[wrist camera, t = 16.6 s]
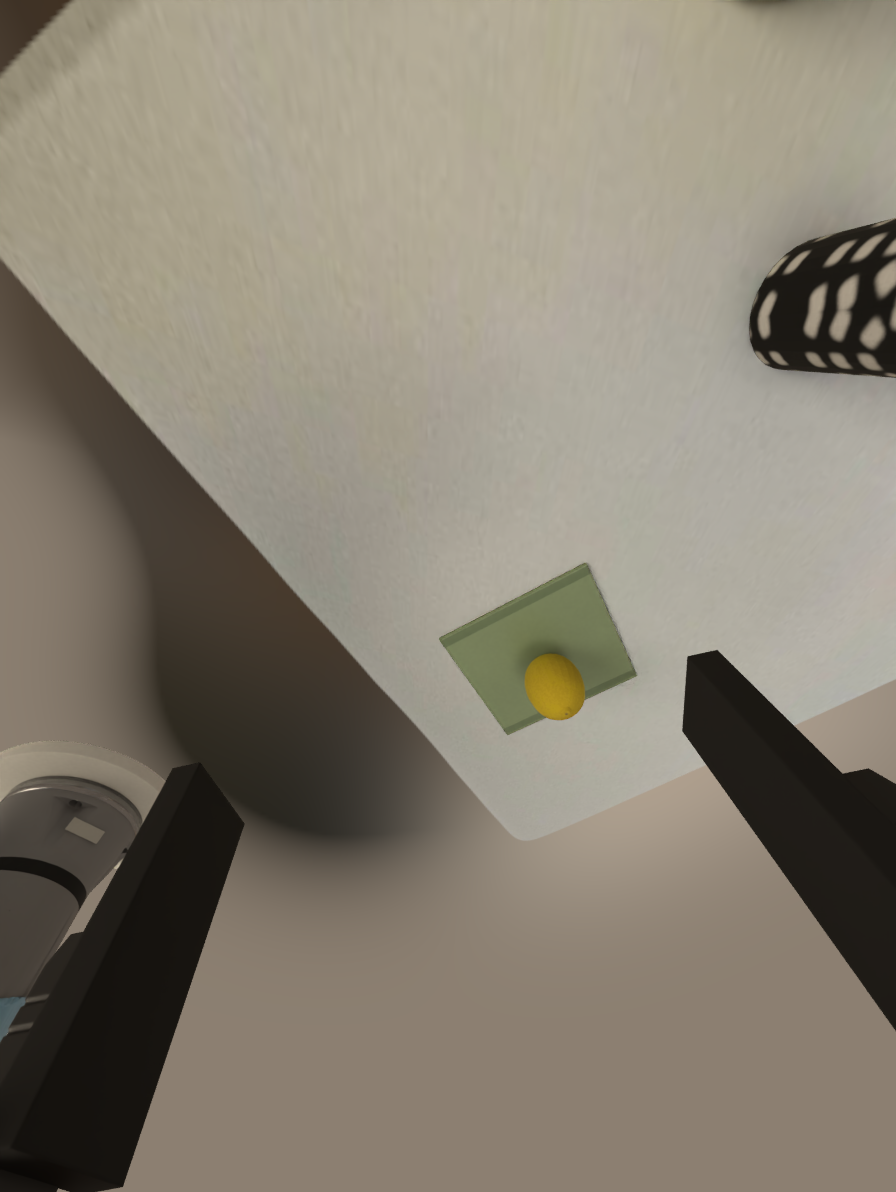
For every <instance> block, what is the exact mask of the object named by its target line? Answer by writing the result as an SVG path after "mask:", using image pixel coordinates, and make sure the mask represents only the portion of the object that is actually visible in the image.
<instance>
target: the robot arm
mask: <svg viewBox="0 0 896 1192" xmlns="http://www.w3.org/2000/svg"><path fill="white" fill-rule="evenodd" d="M682 731H683V733H684V734H685V735H686V737H687V738H688V740H689V741H690V742H691V744H692V745H693V747H694V748H695V749H696V751H697V752H698V754H699V755H700V756H701V758H702V759H703V761H704V762H705V764H706V765H707V766H708V768H709V769H710V771H711V772H712V773H713V775H714V776H715V777H716V779H717V780H718V782H719V783H720V784H721V786H722V787H723V789H724V790H725V792H726V793H727V794H728V796H729V797H730V799H731V800H732V801H733V803H734V804H735V806H736V807H737V808H738V809H739V811H740V813H741V814H742V816H743V817H744V818H745V820H746V821H747V823H748V824H749V825H750V827H751V828H752V830H753V831H754V832H755V834H756V835H757V836H758V838H759V839H760V841H761V842H762V844H763V845H764V846H765V848H766V849H767V851H768V852H769V853H770V855H771V856H772V858H773V859H774V860H775V862H776V863H777V864H778V866H779V867H780V869H781V870H782V872H783V873H784V875H785V876H786V877H787V879H788V880H789V882H790V883H791V884H792V886H793V887H794V888H795V890H796V891H797V893H798V894H799V896H800V897H801V898H802V900H803V901H804V903H805V904H806V905H807V907H808V908H809V910H810V911H811V912H812V914H813V915H814V917H815V918H816V919H817V921H818V922H819V924H820V925H821V927H822V928H823V929H824V931H825V932H826V933H827V935H828V936H829V938H830V939H831V941H832V942H833V943H834V944H835V946H836V948H837V949H838V950H839V952H840V953H841V955H842V956H843V957H844V959H845V960H846V962H847V963H848V964H849V966H850V967H851V969H852V970H853V971H854V973H855V974H856V975H857V977H858V978H859V980H860V981H861V983H862V984H863V986H864V987H865V988H866V990H867V991H868V992H869V994H870V995H871V997H872V998H873V999H874V1001H875V1002H876V1004H877V1005H878V1007H879V1008H880V1009H881V1011H882V1012H883V1014H884V1015H885V1016H886V1018H887V1019H888V1020H889V1022H890V1023H891V1025H892V1026H893V1028H894V1029H895V1030H896V784H895V783H893V782H891V781H889V780H888V779H886V778H884V777H883V776H881V775H879V774H877V773H876V772H874V771H872V770H870V769H864V770H859V771H854V772H849V773H844V774H842V773H841V772H840V771H839V770H838V769H837V768H836V767H835V766H834V765H833V764H832V763H831V762H830V761H829V760H828V759H827V758H826V757H825V756H824V755H823V754H822V753H821V752H820V751H819V750H818V749H817V748H816V747H815V746H814V745H813V744H812V743H811V742H810V741H809V740H808V739H807V738H806V737H805V736H804V735H803V734H802V733H801V732H800V731H799V730H797V728H796V727H795V726H794V725H793V724H792V723H791V722H790V721H789V720H788V719H787V718H786V717H785V716H784V715H783V714H781V713H780V712H779V711H778V710H777V709H776V708H775V707H774V706H773V705H772V704H771V703H770V702H769V701H768V700H767V699H766V698H765V697H764V696H763V695H762V694H761V693H760V692H759V691H758V690H757V689H756V688H755V687H754V686H753V685H752V684H751V683H750V682H749V681H748V680H747V679H746V678H745V677H744V676H743V675H742V674H741V673H740V672H739V671H738V670H737V669H736V668H735V667H734V666H733V665H732V664H731V663H730V662H729V661H728V660H727V659H726V658H725V657H724V656H723V655H722V654H721V653H720V652H719V651H718V650H715V651H710V652H706V653H701V654H696V655H692V656H688V658H687V672H686V686H685V700H684V714H683V728H682ZM243 827H244V822H243V821H242V820H241V818H240V817H239V815H238V814H237V813H236V811H235V810H234V808H233V807H232V806H231V804H230V803H229V802H228V800H227V799H226V797H225V796H224V795H223V793H222V792H221V790H220V789H219V788H218V786H217V785H216V784H215V782H214V781H213V780H212V778H211V777H210V775H209V774H208V773H207V771H206V770H205V768H204V767H203V766H202V764H201V763H195V764H191V765H186V766H181V767H177V768H173V769H172V771H171V773H170V774H169V776H168V778H167V780H166V782H165V783H164V785H163V787H162V789H161V791H160V793H159V794H158V796H157V798H156V800H155V802H154V804H153V805H152V807H151V809H150V811H149V813H148V815H147V816H146V818H145V820H144V822H143V821H142V817H141V814H140V812H139V811H138V809H137V808H136V806H135V805H134V804H133V803H132V802H131V801H130V800H129V799H128V798H126V797H125V796H124V795H122V794H121V793H119V792H117V791H116V790H114V789H112V788H110V787H108V786H105V785H103V784H100V783H98V782H95V781H91V780H87V779H83V778H78V777H71V776H43V777H37V778H33V779H29V780H26V781H24V782H22V783H20V784H18V785H16V786H15V787H14V788H13V789H11V791H10V792H9V793H8V794H7V795H6V796H5V797H4V798H3V800H2V801H1V802H0V1192H57V1189H58V1188H59V1189H62V1190H66V1191H69V1192H98V1191H104V1190H109V1189H114V1188H120V1187H123V1185H124V1182H125V1179H126V1176H127V1173H128V1170H129V1167H130V1164H131V1161H132V1158H133V1155H134V1152H135V1149H136V1146H137V1143H138V1140H139V1137H140V1134H141V1131H142V1128H143V1125H144V1122H145V1119H146V1116H147V1113H148V1110H149V1107H150V1104H151V1101H152V1098H153V1095H154V1092H155V1089H156V1086H157V1083H158V1080H159V1077H160V1074H161V1071H162V1068H163V1065H164V1063H165V1059H166V1057H167V1054H168V1050H169V1047H170V1045H171V1042H172V1038H173V1036H174V1033H175V1029H176V1027H177V1024H178V1021H179V1018H180V1015H181V1012H182V1009H183V1006H184V1003H185V1000H186V997H187V994H188V991H189V988H190V985H191V982H192V979H193V976H194V973H195V970H196V967H197V964H198V961H199V958H200V955H201V952H202V949H203V946H204V943H205V940H206V937H207V934H208V931H209V928H210V925H211V922H212V919H213V916H214V913H215V910H216V907H217V904H218V901H219V898H220V895H221V892H222V890H223V887H224V884H225V881H226V878H227V874H228V871H229V868H230V866H231V863H232V860H233V857H234V854H235V851H236V847H237V845H238V841H239V839H240V836H241V833H242V830H243ZM122 859H123V860H122ZM121 860H122V862H121V864H120V866H119V867H118V869H117V871H116V873H115V875H114V877H113V879H112V880H111V882H110V884H109V886H108V888H107V889H106V891H105V893H104V895H103V897H102V899H101V901H100V902H99V904H98V906H97V908H96V910H95V912H94V913H93V915H92V917H91V919H90V920H89V922H88V924H87V926H86V928H85V930H84V932H80V933H75V934H71V935H70V936H69V937H68V939H67V940H66V941H65V942H64V943H63V944H62V946H61V947H60V948H59V949H58V947H59V945H60V943H61V942H62V940H63V938H64V936H65V935H66V933H67V931H68V929H69V927H70V926H71V924H72V922H73V920H74V919H75V917H76V915H77V913H78V911H79V910H80V908H81V906H82V904H83V903H84V901H85V899H86V898H87V896H88V895H89V893H90V892H91V891H92V890H93V889H94V888H95V887H96V886H97V885H98V884H99V883H100V882H101V881H102V880H103V879H104V878H105V876H107V875H108V874H109V872H110V871H111V870H112V869H113V868H114V867H115V866H116V865H117V864H118V863H119V862H120V861H121ZM57 949H58V950H57ZM56 950H57V952H56ZM55 952H56V953H55ZM7 1033H8V1034H7Z"/></svg>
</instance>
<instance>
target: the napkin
mask: <svg viewBox="0 0 896 1192" xmlns="http://www.w3.org/2000/svg"><path fill="white" fill-rule="evenodd" d="M439 640H440V642H441V643H442V644H443V646H444V647H445V648H446V650H447V651H448V653H449V654H450V655H451V657H452V658H453V660H454V661H455V662H456V664H457V665H458V667H459V668H460V669H461V671H462V672H463V674H464V675H465V676H466V678H467V679H468V681H469V682H470V683H471V685H472V686H473V688H474V689H475V690H476V692H477V693H478V695H479V696H480V697H481V699H482V700H483V702H484V703H485V704H486V706H487V707H488V709H489V710H490V711H491V713H492V714H493V716H494V717H495V718H496V720H497V721H498V722H499V724H500V725H501V727H502V728H503V730H504V731H505V732H506V734H507V735H509V734H511V733H513V732H516V731H518V730H520V729H522V728H524V727H526V726H529V725H531V724H533V723H535V722H537V721H540V720H542V719H544V718H546V717H545V716H543V715H542V714H540V713H539V712H538V711H537V710H536V709H535V707H534V706H533V705H532V703H531V702H530V700H529V698H528V696H527V693H526V689H525V673H526V670H527V668H528V666H529V665H530V663H531V662H532V661H533V660H534V659H535V658H537V657H539V656H541V655H544V654H549V653H551V654H558V655H561V656H564V657H565V658H567V659H569V660H570V661H571V662H572V663H573V664H574V665H575V666H576V668H577V669H578V670H579V672H580V674H581V677H582V679H583V682H584V687H585V699H588V698H590V697H592V696H594V695H596V694H599V693H601V692H603V691H605V690H607V689H610V688H612V687H614V686H616V685H618V684H620V683H623V682H625V681H627V680H629V679H631V678H634V677H636V676H637V675H636V673H635V671H634V669H633V666H632V664H631V662H630V660H629V657H628V655H627V653H626V651H625V648H624V646H623V644H622V642H621V640H620V637H619V635H618V633H617V631H616V628H615V626H614V624H613V622H612V620H611V617H610V615H609V613H608V611H607V608H606V606H605V604H604V602H603V599H602V597H601V595H600V593H599V591H598V588H597V586H596V584H595V582H594V579H593V577H592V575H591V573H590V570H589V568H588V566H587V564H586V563H584V564H582V565H580V566H578V567H576V568H574V569H573V570H571V571H569V572H567V573H565V574H563V575H561V576H559V577H557V578H555V579H553V580H551V581H549V582H547V583H545V584H543V585H542V586H540V587H538V588H536V589H534V590H532V591H530V592H528V593H526V594H524V595H522V596H520V597H518V598H516V599H514V600H512V601H510V602H509V603H507V604H505V605H503V606H501V607H499V608H497V609H495V610H493V611H491V612H489V613H487V614H485V615H483V616H481V617H479V618H478V619H476V620H474V621H472V622H470V623H468V624H466V625H464V626H462V627H460V628H458V629H456V630H454V631H452V632H450V633H448V634H447V635H445V636H443V637H441V638H439ZM585 699H584V700H585Z"/></svg>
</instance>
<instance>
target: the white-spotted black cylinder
mask: <svg viewBox="0 0 896 1192" xmlns="http://www.w3.org/2000/svg"><path fill="white" fill-rule="evenodd" d="M749 331H750V340H751V343H752V346H753V349H754V351H755V353H756V355H757V356H758V358H759V359H760V360H761V361H762V362H764V363H765V364H766V365H768V366H770V367H772V368H776V369H781V370H794V371H808V372H822V373H837V374H851V375H865V376H880V377H894V378H896V218H894V219H890V220H886V221H882V222H878V223H874V224H870V225H866V226H862V227H859V228H855V229H851V230H847V231H843V232H839V233H835V234H831V235H827V236H823V237H819V238H816V239H813V240H809V241H807V242H805V243H803V244H801V245H799V246H797V247H796V248H794V249H793V250H792V251H790V252H789V253H788V254H786V255H785V256H784V257H783V258H782V259H781V260H780V261H779V262H778V263H777V264H776V265H775V266H774V267H773V269H772V270H771V271H770V273H769V274H768V276H767V277H766V278H765V280H764V282H763V284H762V285H761V287H760V289H759V291H758V293H757V296H756V298H755V301H754V304H753V307H752V312H751V316H750V327H749Z"/></svg>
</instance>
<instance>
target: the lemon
mask: <svg viewBox="0 0 896 1192" xmlns="http://www.w3.org/2000/svg"><path fill="white" fill-rule="evenodd" d="M525 689H526V693H527V696H528V698H529V700H530V702H531V703H532V705H533V706H534V707H535V709H536V710H537V711H538V712H539V713H540V714H542V715H543V716H545V717H547V718H549V719H553V720H565V719H568V718H571V717H572V716H574V715H575V714H576V713H577V712H578V711H579V710H580V709H581V707H582V706H583V703H584V699H585V687H584V682H583V679H582V677H581V674H580V672H579V670H578V669H577V668H576V666H575V665H574V664H573V663H572V662H571V661H570V660H569V659H567V658H565V657H564V656H561V655H558V654H551V653H549V654H544V655H541V656H539V657H537V658H535V659H534V660H533V661H532V662H531V663H530V665H529V666H528V668H527V670H526V673H525Z"/></svg>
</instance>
